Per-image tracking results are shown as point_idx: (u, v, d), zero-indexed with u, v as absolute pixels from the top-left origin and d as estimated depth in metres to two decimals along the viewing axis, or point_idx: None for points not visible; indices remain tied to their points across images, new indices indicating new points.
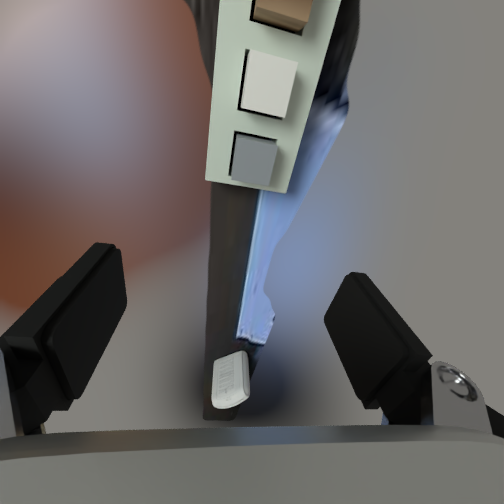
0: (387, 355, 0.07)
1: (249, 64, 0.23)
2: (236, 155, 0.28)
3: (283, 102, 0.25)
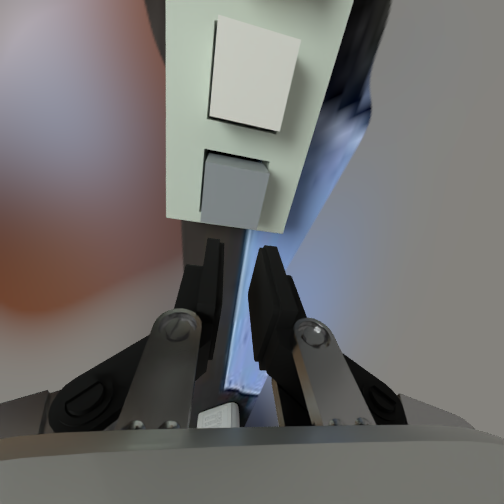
0: (267, 314, 0.07)
1: (217, 42, 0.13)
2: (205, 187, 0.18)
3: (276, 106, 0.15)
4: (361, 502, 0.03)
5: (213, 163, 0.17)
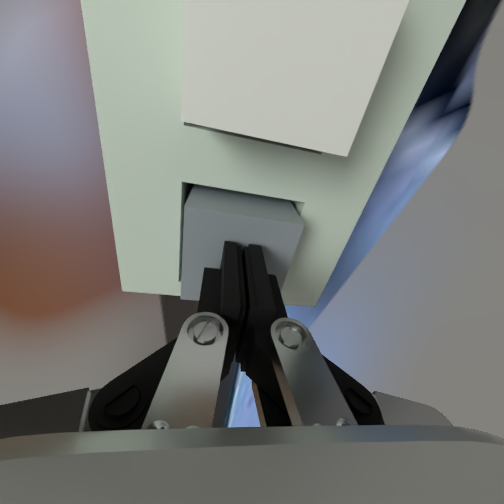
0: (246, 314, 0.07)
1: None
2: (186, 249, 0.10)
3: (348, 97, 0.06)
4: (361, 502, 0.03)
5: (199, 209, 0.09)
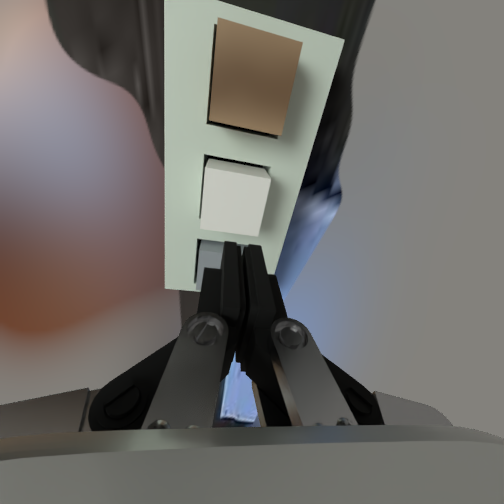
0: (247, 314, 0.07)
1: (205, 183, 0.17)
2: (199, 267, 0.23)
3: (254, 220, 0.19)
4: (361, 502, 0.03)
5: (205, 250, 0.22)
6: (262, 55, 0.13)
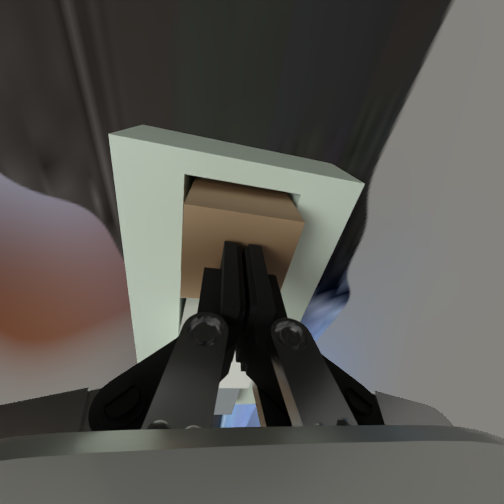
0: (246, 314, 0.07)
1: None
2: None
3: (243, 377, 0.15)
4: (361, 502, 0.03)
5: None
6: (249, 237, 0.10)
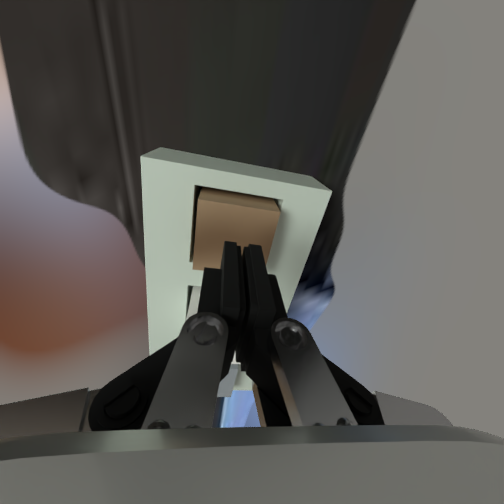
0: (247, 314, 0.07)
1: None
2: None
3: None
4: (361, 502, 0.03)
5: None
6: (242, 223, 0.14)
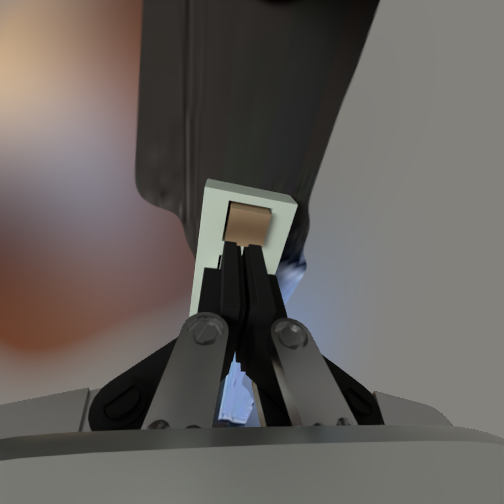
0: (246, 314, 0.07)
1: None
2: None
3: None
4: (361, 502, 0.03)
5: None
6: (252, 219, 0.28)
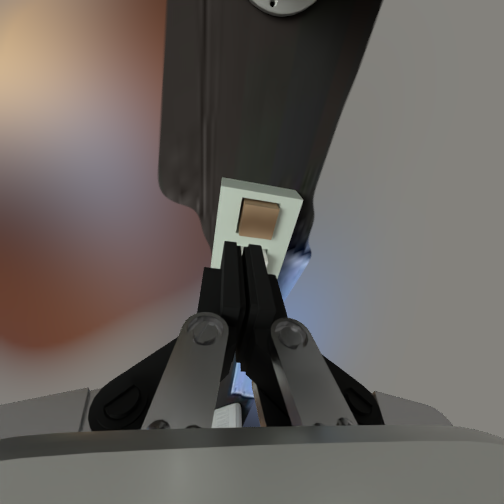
0: (246, 314, 0.07)
1: None
2: None
3: None
4: (361, 502, 0.03)
5: None
6: (262, 214, 0.32)
